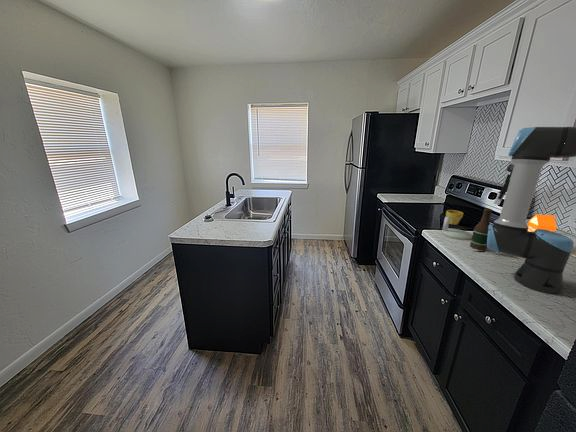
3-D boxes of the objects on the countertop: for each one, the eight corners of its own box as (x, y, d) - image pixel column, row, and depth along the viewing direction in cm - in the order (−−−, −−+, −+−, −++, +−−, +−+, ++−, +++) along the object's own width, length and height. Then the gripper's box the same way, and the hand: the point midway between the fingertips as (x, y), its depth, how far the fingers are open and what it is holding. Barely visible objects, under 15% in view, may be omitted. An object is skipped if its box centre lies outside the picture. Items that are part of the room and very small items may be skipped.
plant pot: (463, 227, 175) (467, 214, 172) (449, 226, 175) (452, 213, 172) (454, 222, 184) (457, 210, 181) (440, 222, 185) (443, 209, 182)
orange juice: (548, 251, 138) (560, 217, 132) (530, 249, 140) (541, 216, 134) (537, 245, 145) (549, 213, 139) (520, 244, 147) (530, 212, 141)
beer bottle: (470, 250, 137) (480, 209, 130) (468, 245, 144) (478, 206, 137) (487, 253, 134) (499, 211, 127) (484, 248, 140) (495, 208, 133)
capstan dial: (472, 234, 158) (476, 218, 155) (470, 242, 146) (475, 225, 142) (443, 228, 167) (446, 214, 164) (439, 235, 155) (443, 219, 152)
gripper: (527, 165, 132) (504, 206, 138) (524, 169, 142) (503, 206, 148) (510, 162, 136) (488, 201, 142) (508, 165, 147) (488, 202, 153)
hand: (496, 204), depth 145 cm, fingers closed
